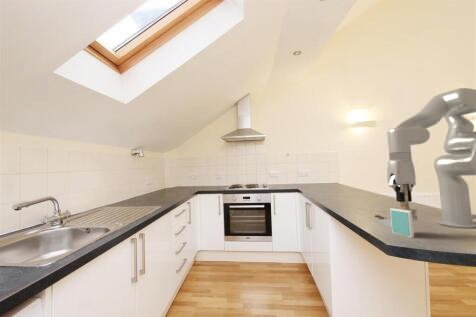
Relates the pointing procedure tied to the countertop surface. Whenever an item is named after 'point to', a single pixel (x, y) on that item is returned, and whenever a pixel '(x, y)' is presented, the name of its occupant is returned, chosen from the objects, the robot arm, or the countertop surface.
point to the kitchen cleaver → (383, 220)
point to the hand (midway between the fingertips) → (404, 201)
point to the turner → (407, 204)
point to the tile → (402, 222)
